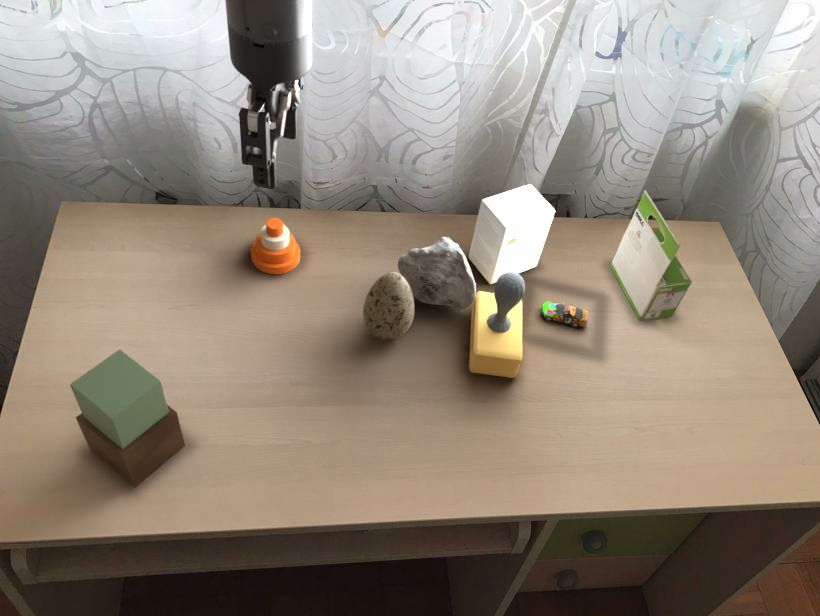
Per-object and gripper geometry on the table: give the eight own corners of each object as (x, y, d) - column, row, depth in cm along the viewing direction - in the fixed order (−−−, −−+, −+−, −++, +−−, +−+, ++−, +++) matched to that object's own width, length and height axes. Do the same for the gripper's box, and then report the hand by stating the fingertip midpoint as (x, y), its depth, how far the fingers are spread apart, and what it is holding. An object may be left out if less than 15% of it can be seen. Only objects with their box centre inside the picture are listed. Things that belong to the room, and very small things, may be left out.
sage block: (122, 449, 69) (111, 418, 65) (83, 416, 70) (69, 384, 66) (169, 412, 72) (160, 380, 68) (130, 381, 73) (120, 348, 69)
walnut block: (134, 488, 74) (122, 456, 69) (90, 451, 75) (75, 417, 70) (185, 445, 77) (177, 412, 72) (142, 410, 79) (131, 375, 74)
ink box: (672, 318, 100) (717, 243, 89) (638, 323, 98) (679, 247, 87) (641, 262, 106) (679, 185, 95) (607, 266, 104) (642, 188, 93)
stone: (398, 321, 92) (406, 265, 84) (392, 280, 96) (399, 223, 88) (471, 319, 94) (486, 264, 86) (462, 279, 98) (476, 223, 90)
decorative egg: (377, 305, 93) (384, 248, 85) (419, 327, 92) (429, 271, 84) (351, 336, 89) (356, 280, 82) (394, 359, 88) (403, 304, 80)
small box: (514, 241, 104) (531, 182, 96) (537, 267, 102) (557, 209, 93) (466, 257, 101) (480, 198, 92) (489, 285, 98) (505, 227, 90)
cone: (276, 281, 93) (275, 248, 88) (241, 257, 94) (238, 223, 90) (309, 256, 96) (310, 223, 92) (275, 233, 98) (273, 199, 93)
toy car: (541, 304, 97) (544, 295, 96) (586, 315, 98) (590, 306, 96) (539, 319, 96) (542, 310, 94) (584, 330, 96) (588, 321, 94)
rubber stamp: (471, 309, 95) (489, 241, 86) (516, 315, 96) (538, 249, 86) (468, 371, 89) (487, 306, 80) (516, 378, 89) (540, 314, 80)
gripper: (251, -29, 71) (260, 114, 84) (202, 49, 63) (220, 196, 75) (329, -13, 72) (326, 128, 84) (291, 67, 63) (294, 211, 76)
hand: (276, 160), depth 80 cm, fingers open, 8 cm apart
